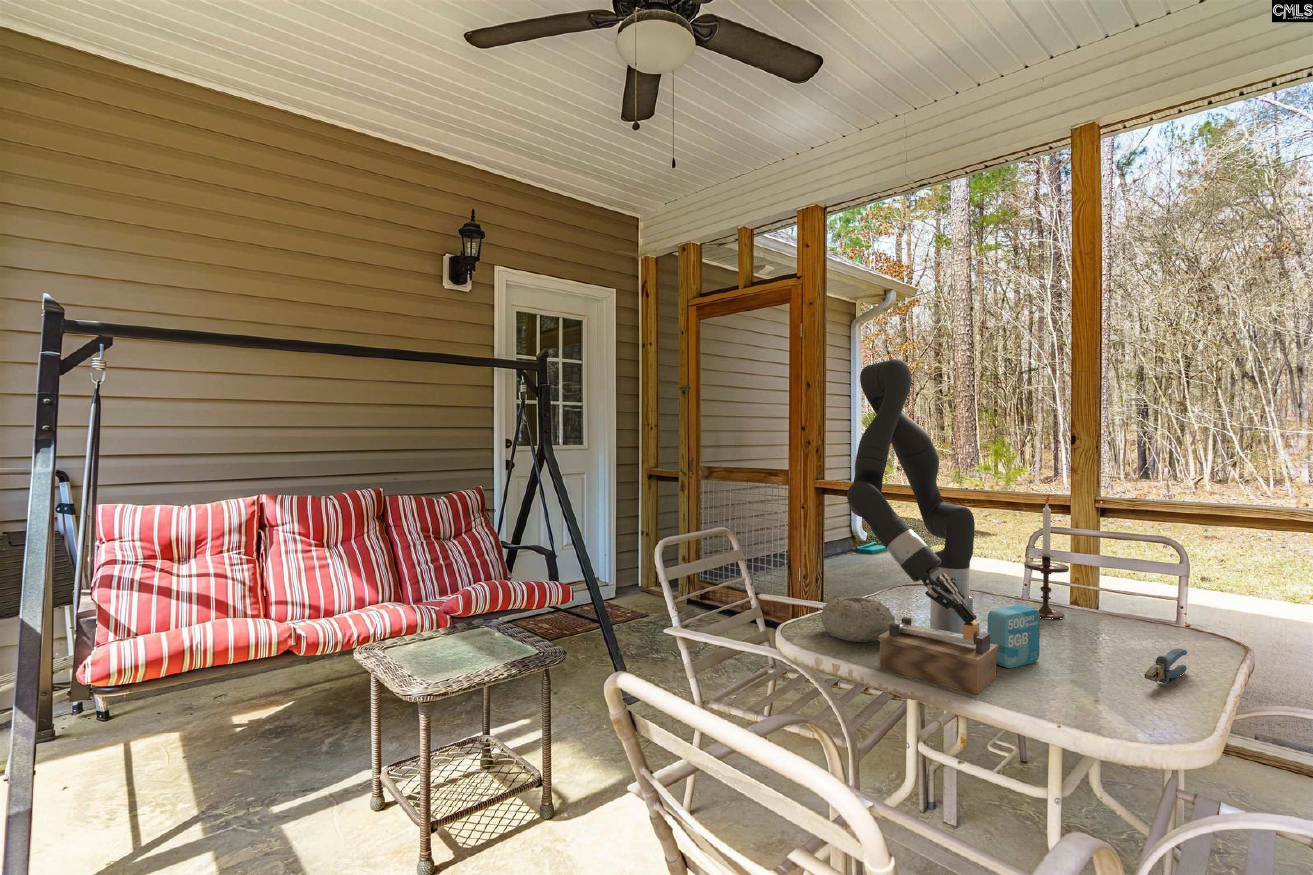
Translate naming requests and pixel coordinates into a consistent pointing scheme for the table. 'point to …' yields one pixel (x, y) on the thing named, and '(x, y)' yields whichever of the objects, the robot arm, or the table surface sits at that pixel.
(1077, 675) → the table surface
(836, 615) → the grey rounded stone lump
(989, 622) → the data package
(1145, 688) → the table surface
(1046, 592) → the candlestick
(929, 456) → the robot arm
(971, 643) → the latch bar
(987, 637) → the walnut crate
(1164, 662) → the pliers
